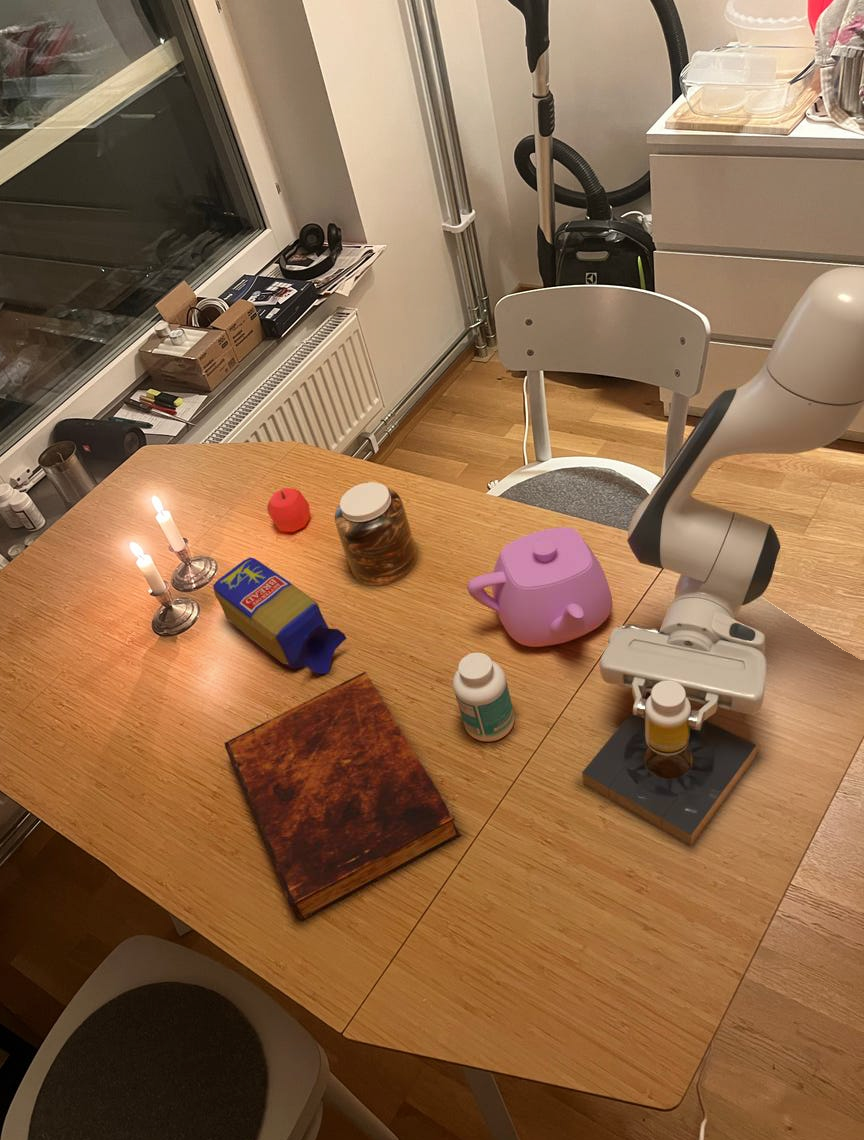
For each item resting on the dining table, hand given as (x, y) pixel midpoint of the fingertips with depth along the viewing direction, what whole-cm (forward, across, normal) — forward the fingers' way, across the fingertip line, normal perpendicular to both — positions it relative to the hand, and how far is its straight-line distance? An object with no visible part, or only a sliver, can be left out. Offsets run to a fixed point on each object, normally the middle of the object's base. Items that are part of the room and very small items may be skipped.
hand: (666, 720), depth 112 cm
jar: (-28, -56, +13) cm, 64 cm away
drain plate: (-1, 0, +13) cm, 13 cm away
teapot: (-23, -23, +13) cm, 36 cm away
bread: (-8, -66, +13) cm, 67 cm away
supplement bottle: (-1, 0, +6) cm, 6 cm away
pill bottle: (-1, -26, +13) cm, 29 cm away
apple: (-34, -79, +13) cm, 87 cm away
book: (+17, -42, +13) cm, 47 cm away
